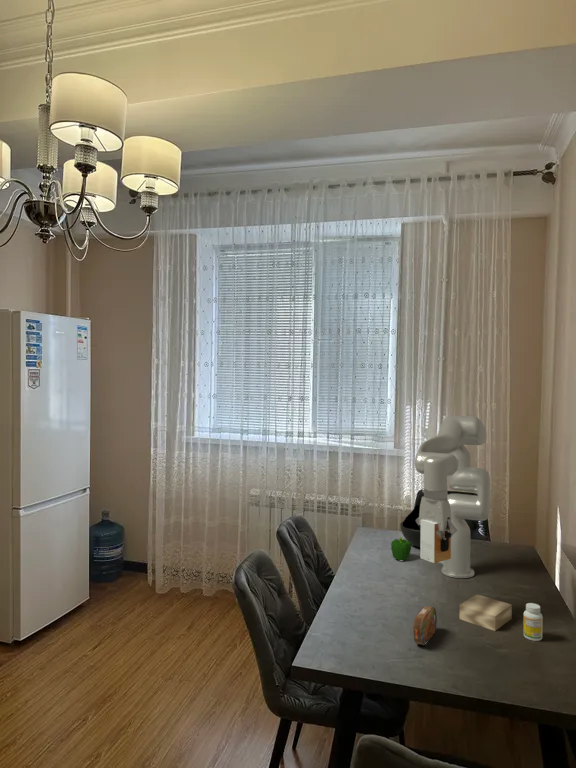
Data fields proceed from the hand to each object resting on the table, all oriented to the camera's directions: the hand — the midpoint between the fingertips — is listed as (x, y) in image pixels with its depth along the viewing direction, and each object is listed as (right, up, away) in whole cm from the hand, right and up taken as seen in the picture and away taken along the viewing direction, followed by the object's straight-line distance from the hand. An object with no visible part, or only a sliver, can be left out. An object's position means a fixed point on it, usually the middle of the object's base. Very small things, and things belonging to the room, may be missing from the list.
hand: (435, 547), depth 184 cm
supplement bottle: (+25, -23, -15) cm, 37 cm away
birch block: (+15, -23, -3) cm, 28 cm away
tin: (-7, -23, -16) cm, 29 cm away
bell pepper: (0, -21, +55) cm, 59 cm away
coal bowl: (+13, -21, +72) cm, 76 cm away
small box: (0, -4, 0) cm, 4 cm away
